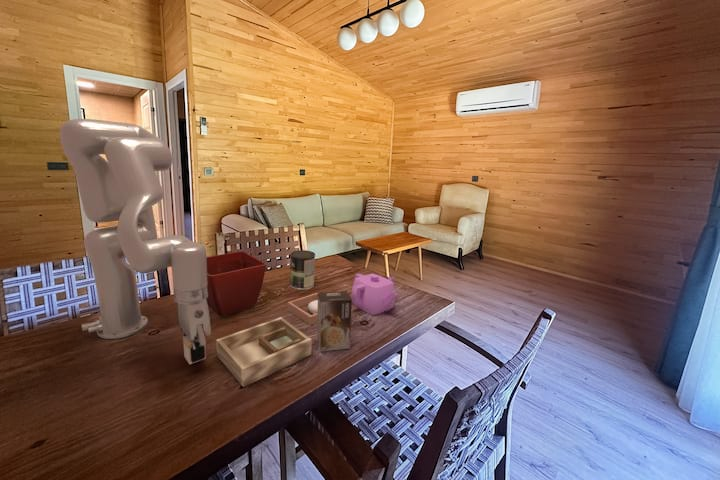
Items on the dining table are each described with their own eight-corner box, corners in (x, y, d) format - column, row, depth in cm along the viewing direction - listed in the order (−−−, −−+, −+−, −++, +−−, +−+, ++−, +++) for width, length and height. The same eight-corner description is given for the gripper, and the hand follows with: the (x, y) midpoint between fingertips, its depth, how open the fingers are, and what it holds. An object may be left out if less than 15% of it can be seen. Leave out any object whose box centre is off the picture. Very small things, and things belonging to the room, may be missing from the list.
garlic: (324, 304, 121) (325, 295, 120) (333, 312, 116) (333, 303, 115) (305, 309, 117) (305, 299, 116) (313, 317, 111) (313, 307, 110)
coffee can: (291, 290, 131) (291, 258, 127) (288, 281, 140) (289, 250, 136) (316, 289, 134) (317, 257, 130) (312, 279, 143) (313, 249, 140)
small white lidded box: (189, 364, 81) (188, 344, 80) (184, 356, 84) (182, 336, 83) (206, 358, 84) (205, 338, 83) (200, 350, 87) (199, 331, 85)
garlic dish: (310, 325, 106) (310, 317, 105) (287, 309, 115) (287, 302, 114) (340, 313, 115) (341, 305, 114) (317, 299, 124) (318, 292, 124)
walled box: (243, 387, 77) (242, 369, 76) (217, 355, 88) (216, 339, 86) (311, 354, 91) (311, 339, 89) (281, 331, 101) (281, 316, 100)
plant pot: (193, 303, 116) (190, 259, 111) (244, 290, 129) (243, 250, 124) (213, 324, 103) (210, 276, 98) (267, 308, 115) (267, 264, 111)
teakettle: (352, 294, 131) (353, 266, 128) (393, 297, 131) (396, 269, 128) (348, 314, 115) (350, 282, 112) (395, 318, 114) (399, 286, 111)
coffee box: (345, 337, 100) (348, 290, 96) (350, 349, 94) (353, 299, 90) (316, 340, 98) (317, 292, 94) (319, 352, 92) (320, 301, 88)
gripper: (220, 300, 76) (222, 366, 81) (195, 277, 87) (198, 335, 92) (185, 309, 71) (190, 378, 76) (164, 283, 82) (169, 345, 87)
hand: (194, 354), depth 84 cm, fingers closed on small white lidded box, 4 cm apart
